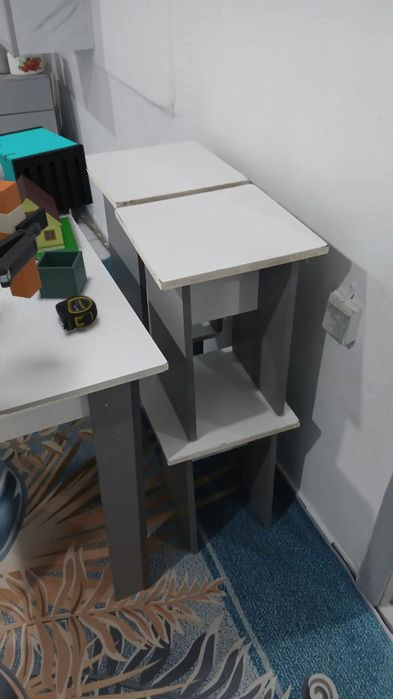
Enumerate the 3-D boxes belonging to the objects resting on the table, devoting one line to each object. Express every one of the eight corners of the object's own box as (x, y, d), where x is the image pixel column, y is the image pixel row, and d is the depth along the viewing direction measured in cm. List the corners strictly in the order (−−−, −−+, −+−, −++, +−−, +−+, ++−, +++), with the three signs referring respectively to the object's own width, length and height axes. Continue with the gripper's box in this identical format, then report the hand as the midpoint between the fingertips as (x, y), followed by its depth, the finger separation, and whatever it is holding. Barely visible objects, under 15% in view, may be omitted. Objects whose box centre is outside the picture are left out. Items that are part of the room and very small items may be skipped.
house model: (-7, 266, 114) (-24, 208, 107) (-9, 229, 130) (-24, 177, 122) (79, 251, 118) (68, 195, 111) (67, 217, 134) (57, 166, 126)
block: (11, 296, 79) (-20, 189, 69) (24, 283, 81) (-4, 179, 71) (30, 299, 78) (1, 191, 68) (42, 286, 81) (16, 181, 71)
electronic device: (-35, 202, 144) (-52, 144, 135) (52, 180, 155) (41, 125, 146) (-1, 232, 127) (-19, 168, 118) (94, 205, 138) (84, 144, 129)
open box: (40, 298, 104) (33, 268, 100) (50, 279, 110) (44, 250, 106) (79, 298, 104) (73, 268, 100) (87, 279, 109) (81, 250, 105)
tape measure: (57, 316, 99) (52, 299, 97) (93, 307, 101) (90, 290, 99) (64, 336, 94) (60, 319, 92) (103, 326, 96) (100, 309, 94)
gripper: (-123, 318, 65) (-9, 233, 82) (-8, 339, 61) (87, 244, 78) (-150, 263, 60) (-23, 185, 78) (-27, 281, 56) (78, 194, 73)
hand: (32, 215), depth 78 cm, fingers closed on block, 3 cm apart
